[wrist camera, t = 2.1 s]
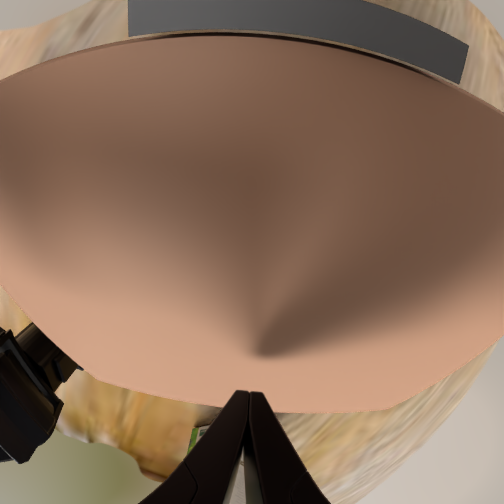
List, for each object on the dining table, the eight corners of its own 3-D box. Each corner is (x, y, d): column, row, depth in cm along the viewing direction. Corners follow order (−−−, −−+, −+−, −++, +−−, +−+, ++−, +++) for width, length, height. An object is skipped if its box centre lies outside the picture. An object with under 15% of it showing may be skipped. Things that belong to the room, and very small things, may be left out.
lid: (103, 357, 17) (96, 382, 16) (-47, 85, 3) (-90, 118, 2) (385, 386, 17) (387, 411, 16) (586, 157, 3) (619, 197, 2)
